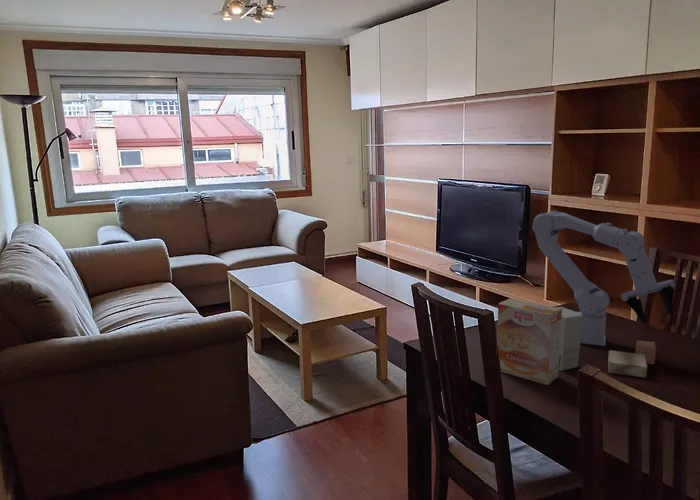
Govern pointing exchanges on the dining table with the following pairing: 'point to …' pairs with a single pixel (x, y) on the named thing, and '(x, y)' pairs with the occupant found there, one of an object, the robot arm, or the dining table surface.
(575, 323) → the skincare box
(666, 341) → the dining table surface
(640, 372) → the beech slab
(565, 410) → the dining table surface
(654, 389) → the dining table surface
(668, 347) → the dining table surface
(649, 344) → the terracotta block
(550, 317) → the coffeecake box
